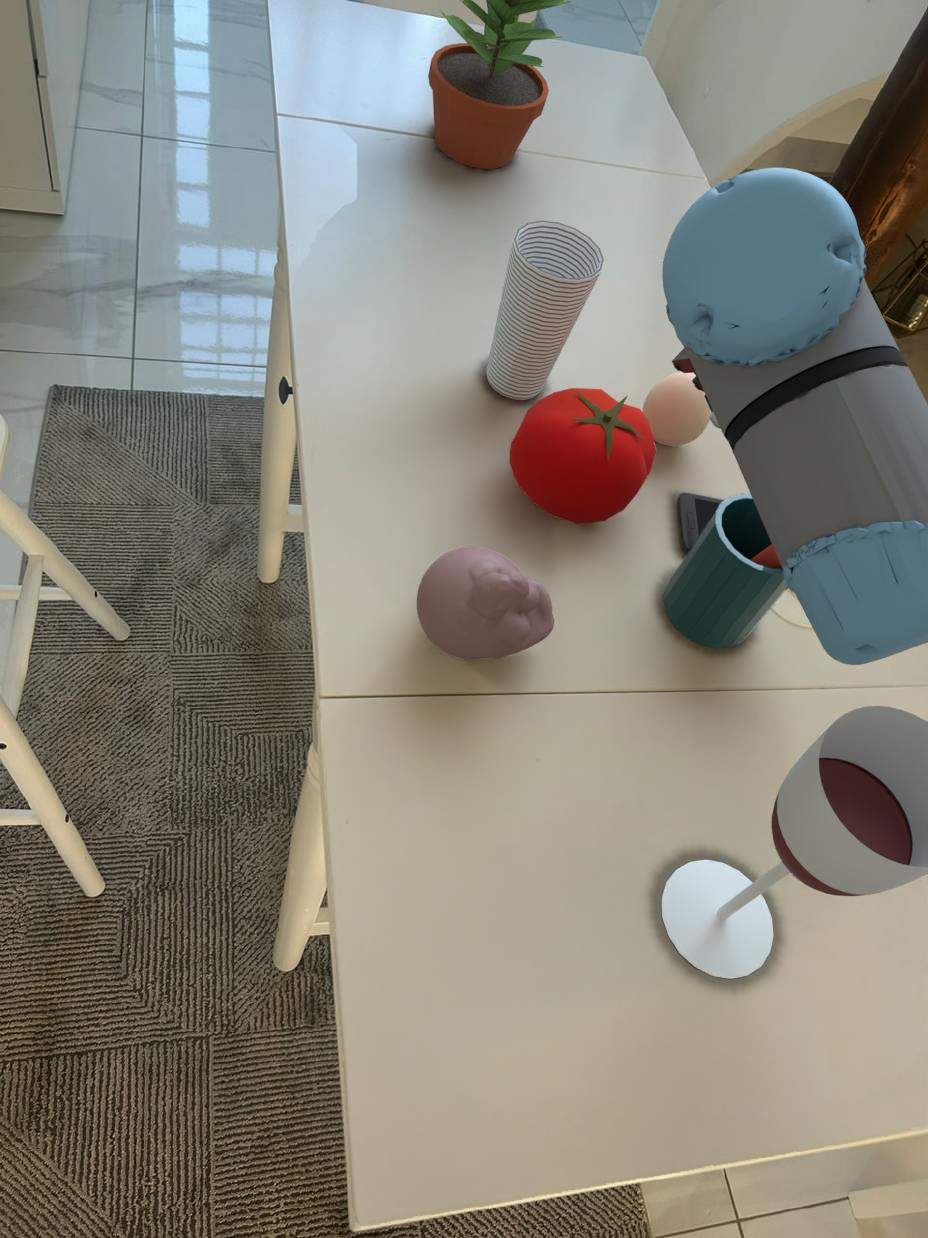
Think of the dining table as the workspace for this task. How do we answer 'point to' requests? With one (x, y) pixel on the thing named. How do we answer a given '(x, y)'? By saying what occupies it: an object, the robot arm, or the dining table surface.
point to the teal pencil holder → (724, 578)
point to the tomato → (582, 454)
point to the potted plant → (489, 84)
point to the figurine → (482, 605)
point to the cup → (540, 304)
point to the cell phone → (694, 516)
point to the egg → (676, 410)
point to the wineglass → (815, 839)
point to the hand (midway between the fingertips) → (801, 471)
